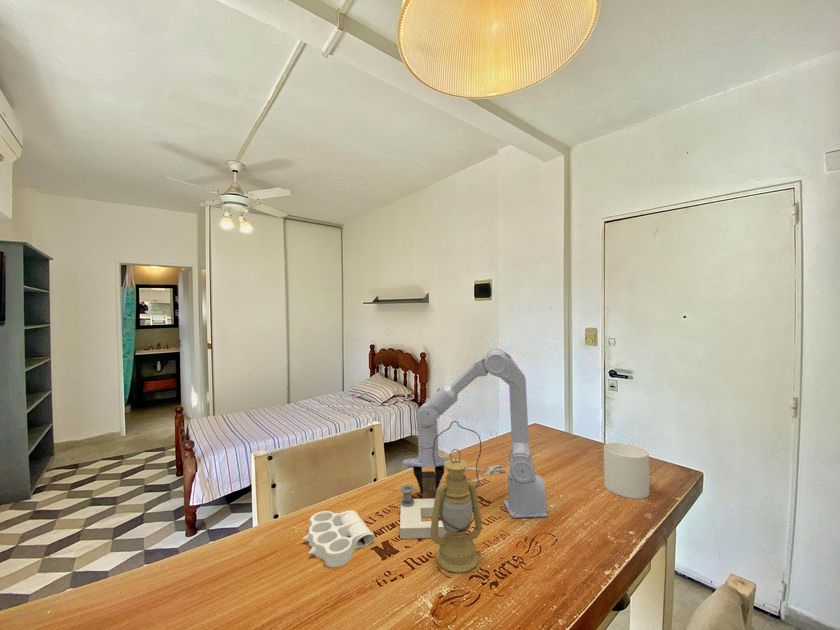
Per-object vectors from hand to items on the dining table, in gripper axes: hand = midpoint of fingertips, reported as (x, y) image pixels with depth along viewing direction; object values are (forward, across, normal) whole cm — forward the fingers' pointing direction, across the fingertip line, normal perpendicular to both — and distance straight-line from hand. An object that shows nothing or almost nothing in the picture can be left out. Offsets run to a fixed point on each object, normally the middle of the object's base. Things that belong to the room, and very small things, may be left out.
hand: (428, 492), depth 100 cm
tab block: (+2, 0, 0) cm, 2 cm away
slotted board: (+2, +2, +11) cm, 11 cm away
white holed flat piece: (+3, +23, +17) cm, 29 cm away
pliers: (+3, -19, -15) cm, 24 cm away
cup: (+2, -60, -2) cm, 60 cm away
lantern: (+2, -5, +24) cm, 25 cm away
